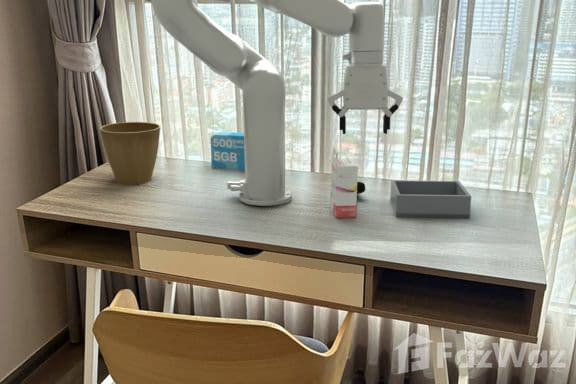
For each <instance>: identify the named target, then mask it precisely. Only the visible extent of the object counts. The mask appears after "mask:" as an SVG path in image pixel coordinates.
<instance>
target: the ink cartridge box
mask: <svg viewBox="0 0 576 384" xmlns="http://www.w3.org/2000/svg"><path fill="white" fill-rule="evenodd" d="M331 153H332V154H331V161H330V162H331V164H330V166H331V168H330V199H329V200H330V202H329V203H330V205H329V206H330V209H331V211H332V213H333V215H334V217H335V218H336V219H337V218H340V219H341V218H342V219H343V218H345V219H346V218H357V207H358V206H357V201H358V198H357V197H358V194H357V182H358V175H359V173H358V171H359V166H358V164H357V163H356V161H354V159H353V158H352V157H343V158H339V151H338V150H337V148H336V146H334V145H333V146H332V152H331Z"/></svg>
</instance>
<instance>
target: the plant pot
mask: <svg viewBox="0 0 576 384" xmlns="http://www.w3.org/2000/svg"><path fill="white" fill-rule="evenodd" d="M99 131H100V136H101V139H102V140H101V141H102V143H103V148H104V150H105V155H106V158H107V160H108V163H109V165H110V168H111V171H112V174H113V176H114V178H115V180H116V182H117V183H118V184H120V185H127V186H131V185H132V186H134V185H141V184H145V183H148V182H149V181H151V179H152V177H153V174H154V170H155V165H156V161H157V156H158V151H159V144H160V143H159V142H160V141H159V140H160V135H161V133H160V132H161V125H160V124H158V123H154V122H146V121H144V122H143V121H124V122H123V121H121V122H115V123H109V124H104V125H102V126H101V127H100V128H99Z"/></svg>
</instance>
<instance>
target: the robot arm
mask: <svg viewBox="0 0 576 384" xmlns="http://www.w3.org/2000/svg"><path fill="white" fill-rule="evenodd" d="M196 1H198V0H151V5H152V9H153V12H154V15H155V17H156V19H157V20H158V22H159V24H160V25H161V26H162V27H163V29H164V30H165V31H166V33H168V34H169V35H170V36H171V37H172V38H173V39H175V40H176V41H177V42H178V43H179V44H180V45H182V46H183V47H184V48H185V49H186V50H187V51H189V52H190V53H191V54H193V55H194V56H195V57H196V58H197V59H198V60H200V61H201V62H202V63H203V64H205V65H206V66H207V67H208V68H209V69H210V70H211V71H212V72H213V73H215V75H216V74H217V75H218V76H221V77H224V78H226V79H228V81H229V82H231V83H233V84H234V85H235V86H236V87H237V88H239V89H240V90H242V91H241V92H242V109H243V110H242V111H243V113H242V114H243V133H244V148H245V171H244V177H245V178H244V179H243V180H242V179H241V180H240V181H234V180H233V181H232V180H231V181H230V180H228V181H227V183H226V188H227V190H230V191H231V192H237V191H239V192H240V193H239V194H238V195H239V196H238V199H239V201H240V202H242V203H244V204H246V205H251V206H259V207H261V206H263V207H264V206H265V207H267V206H268V207H269V206H278V205H283V204H285V203H288V202H290V201H291V200H292V195H293V194H292V192H291V191H290V190H288V189H286V133H285V132H286V129H285V127H286V123H285V122H286V121H285V119H286V118H285V117H286V115H285V114H286V113H285V112H286V83H285V79H284V76H283V75H282V73H281V71H280V70H279V68H277V67H276V66H275V65H274V64H273V63H272V62H270V61H269V60H268V59H266V58H265V57H264V56H263V55H262V54H260V53H259V52H258V51H257V50H256V49H254V48H253V47H252V46H251V45H249V44H248V43H247V42H246V41H245V40H243V39H242V38H240V37H239V36H238V35H236V34H233V33H231V32H228V31H227V30H226V29H224V28H223V27H222V26H220V25H219V24H218V23H216V22H215V21H214V20H213V19H212V18H211V17H210V16H208V15H207V14H206V13H205V12H203V10H201V9H200V8H199V7H198V6H196V4H195V2H196ZM248 1H249V2H251V3H253V4H255V5H258V6H260V7H261V8H263V9H266V10H268V11H270V12H273V13H274V14H278V15H279V14H280V15H283V16H287V17H289V18H290V19H291V18H292V19H293V20H296V21H298V22H300V23H303V24H305V25H306V26H309V27H310V28H313V29H314V30H317V31H318V32H319V33H320V34H322V35H324V36H326V37H331V38H340V37H342V36H346V35H348V37H349V39H348V40H349V41H348V43H349V45H348V48H349V49H348V50H349V51H348V52H346V53H343V54H342V60H343V61H347V62H348V64H346V65H345V69H344V76H343V86H342V88H343V89H341V90H340V91H337V92H335V93H334V94H332V95H330V96H328V97H327V102H328V104H329V105H330V108H331V109H332V111H333V112H334V113H336V115H337V116H339V131H342V135H346V131H347V127H346V125H347V119H346V118H347V117H346V113H348V111H349V110H352V111H353V110H354V111H356V110H359V111H360V110H363V111H364V110H382V112H384V113H383V114H384V115H383V117H382V118H383V120H382V121H383V122H382V133H383V134H384V135H388V131H389V130H391V117H392V115H393V114H395V112H397V111H398V110H399V107H400V106H401V104H402V102H403V100H404V97H403V96H402V95H399V94H397V93H395V92H393V91H392V90H390V89H389V87H388V71H387V66H386V64H384V63H383V51H384V50H383V49H384V48H383V47H384V46H383V45H384V44H383V43H384V42H383V40H384V6H383V4H382V3H381V2H377V1H361V2H360V1H359V2H354V3H345V2H343V0H248ZM389 97H390V98H391V99H393V100H394V102H393V104H392V105H391V106H390V107H389V108H388V100H389ZM340 98H342V103H343V106H342V107H341V108H340V107H339V106H338V105H337V104H336V102H335V101H336V100H339V99H340Z"/></svg>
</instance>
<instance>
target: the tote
mask: <svg viewBox="0 0 576 384" xmlns="http://www.w3.org/2000/svg"><path fill="white" fill-rule="evenodd" d="M389 199H390V203H391V207H392V210H393V212H394V215H395V218H433V219H434V218H435V219H436V218H437V219H438V218H439V219H440V218H442V219H443V218H444V219H446V218H447V219H470V217H471V215H470V214H471V204H472V203H471V202H472V195H471V194H470V192H469V191H468V190H467V189H466V188H465V186H464V185H463V184H462V183H461V182H460V180H412V179H411V180H408V179H407V180H406V179H405V180H403V179H402V180H401V179H400V180H399V179H398V180H397V179H394V180H393V179H392V180H390V198H389Z"/></svg>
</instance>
